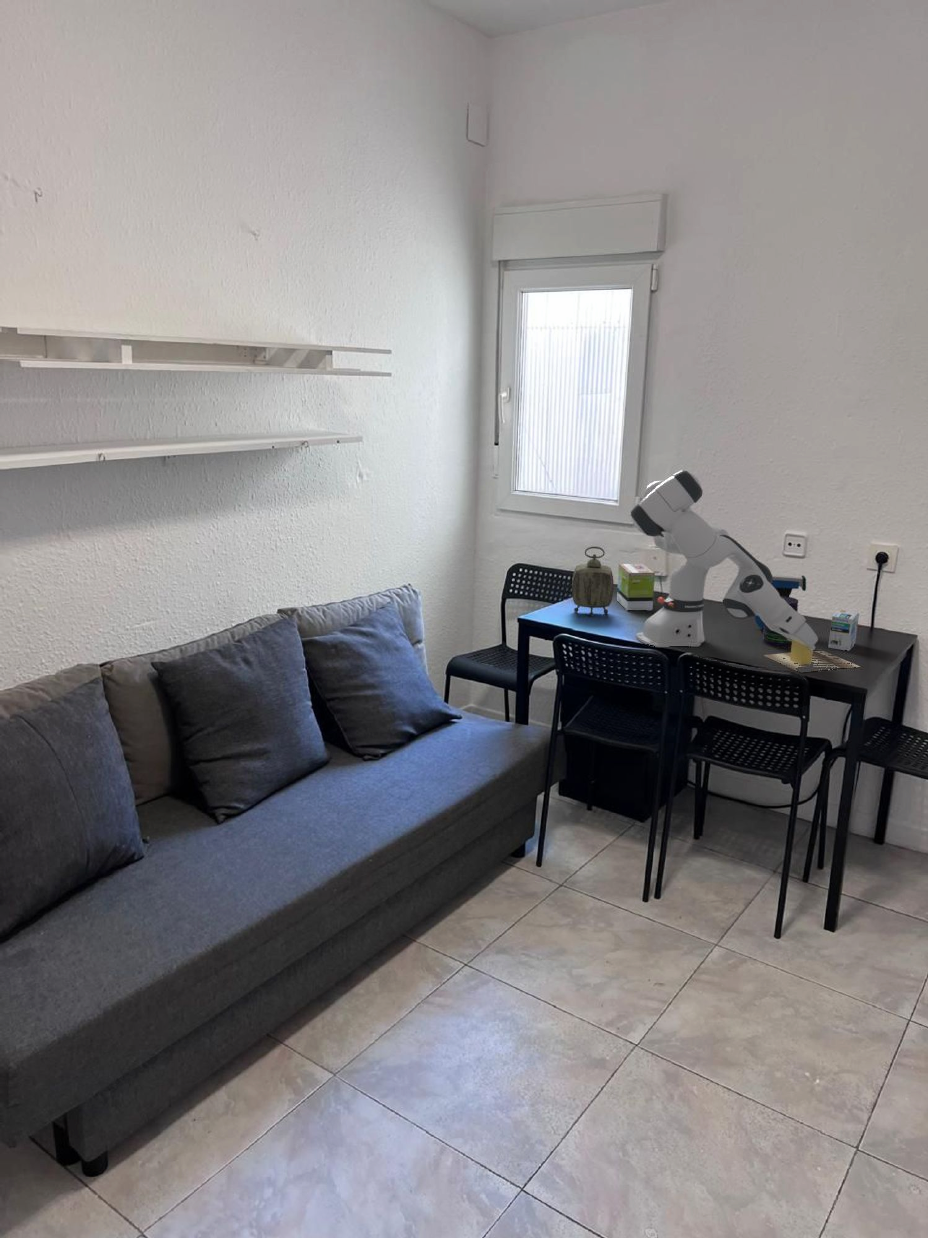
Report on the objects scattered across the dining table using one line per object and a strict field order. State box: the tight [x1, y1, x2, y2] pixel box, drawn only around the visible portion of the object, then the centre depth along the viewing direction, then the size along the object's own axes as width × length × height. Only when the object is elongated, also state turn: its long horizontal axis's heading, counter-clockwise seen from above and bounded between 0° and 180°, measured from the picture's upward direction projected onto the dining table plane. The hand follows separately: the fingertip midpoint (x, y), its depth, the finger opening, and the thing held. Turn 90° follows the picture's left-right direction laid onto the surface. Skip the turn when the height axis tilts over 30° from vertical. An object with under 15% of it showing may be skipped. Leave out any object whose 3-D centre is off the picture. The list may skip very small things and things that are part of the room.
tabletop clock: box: [571, 546, 615, 617], centre depth 335 cm, size 14×9×25 cm, turn 84°
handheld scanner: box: [753, 574, 807, 631], centre depth 321 cm, size 5×16×20 cm, turn 78°
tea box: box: [616, 563, 656, 611], centre depth 350 cm, size 15×10×15 cm
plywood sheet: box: [763, 650, 861, 672], centre depth 291 cm, size 22×18×1 cm
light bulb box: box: [827, 609, 860, 652], centre depth 306 cm, size 11×7×11 cm, turn 148°
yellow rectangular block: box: [790, 640, 813, 665], centre depth 288 cm, size 4×5×9 cm
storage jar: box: [762, 596, 799, 649], centre depth 307 cm, size 10×10×15 cm
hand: (802, 644), depth 287 cm, fingers open, 8 cm apart
